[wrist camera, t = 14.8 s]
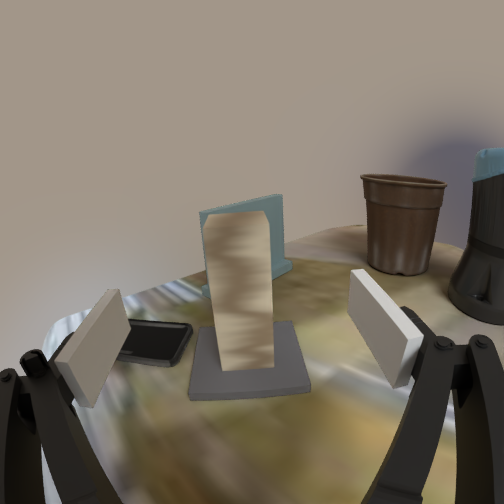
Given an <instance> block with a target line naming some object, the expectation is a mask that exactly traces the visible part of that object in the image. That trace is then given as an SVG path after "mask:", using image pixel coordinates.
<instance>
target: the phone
mask: <svg viewBox="0 0 504 504" xmlns="http://www.w3.org/2000/svg"><path fill="white" fill-rule="evenodd" d="M128 321H129V324H130V327H131V330H130V332H129V334H128V336H127V338H126V340H125V342H124V344H123V346H122V348H121V350H120V352H119V354H118V356H117V358H116V360H120V361H126V362H132V363H139V364H145V365H152V366H160V367H173V366H175V365H176V364H178V362H179V361H180V359H181V357H182V355H183V353H184V351H185V348H186V346H187V344H188V342H189V340H190V338H191V336H192V334H193V329H192V325H190V324H188V323H175V322H161V321H148V320H136V319H128ZM185 344H186V345H185ZM184 346H185V347H184ZM180 356H181V357H180Z"/></svg>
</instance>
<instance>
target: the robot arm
mask: <svg viewBox="0 0 504 504" xmlns="http://www.w3.org/2000/svg"><path fill="white" fill-rule="evenodd" d="M472 182H473V196H472V209H471V219H470V227H469V234H468V241H467V246H466V248H465V250H464V253H463V255H462V257H461V259H460V261H459V263H458V265H457V266H456V268H455V270H454V272H453V274H452V276H451V279H450V284H449V288H448V295H449V297H450V299H451V301H452V302H453V303H454V304H455V305H456V306H457V307H458V308H459V309H460V310H462V311H463V312H465V313H466V314H468V315H470V316H472V317H474V318H476V319H479V320H481V321H484V322H488V323H492V324H499V325H504V148H488V149H482V150H480V151H479V152H478V153H477V154H476V156H475V161H474V176H473V179H472ZM347 312H348V314H349V316H350V317H351V319H352V321H353V322H354V324H355V325H356V327H357V329H358V330H359V332H360V334H361V335H362V337H363V339H364V340H365V342H366V344H367V345H368V347H369V349H370V350H371V352H372V354H373V355H374V357H375V359H376V360H377V362H378V364H379V366H380V367H381V369H382V371H383V372H384V374H385V376H386V378H387V379H388V381H389V383H390V385H391V386H392V388H393V389H395V388H399V387H402V386H406V385H408V383H409V380H410V377H411V375H412V377H413V378H414V380H415V383H414V385H413V388H412V390H411V393H410V395H409V400H408V403H407V406H406V409H405V411H404V414H403V417H402V419H401V422H400V424H399V427H398V429H397V432H396V434H395V436H394V439H393V441H392V443H391V446H390V448H389V450H388V452H387V454H386V457H385V459H384V461H383V463H382V465H381V467H380V469H379V471H378V473H377V475H376V477H375V479H374V481H373V482H372V484H371V486H370V488H369V490H368V492H367V493H366V495H365V497H364V499H363V500H362V502H361V504H422V500H423V497H422V496H421V493H422V490H423V487H424V485H425V482H426V479H427V477H428V474H429V471H430V468H431V465H432V462H433V459H434V456H435V452H436V449H437V446H438V442H439V438H440V435H441V431H442V427H443V423H444V419H445V414H446V410H447V405H448V400H449V394H450V390H452V395H453V404H454V414H455V427H456V450H457V474H456V495H455V504H504V370H503V367H502V364H501V362H500V359H499V356H498V353H497V351H496V348H495V345H494V343H493V341H492V340H491V339H490V338H488V337H487V336H485V335H479V334H478V335H474V336H472V337H471V338H470V340H469V343H468V345H455V343H454V342H453V341H452V340H451V339H449V338H447V337H444V336H436V335H435V334H434V333H433V332H432V331H431V330H430V328H429V327H428V326H427V325H426V324H425V323H424V322H423V321H422V320H421V319H420V318H418V315H417V314H416V313H415V312H414V311H413V310H411V309H409V308H407V307H405V306H403V307H398V306H397V305H396V303H395V302H394V301H393V300H392V299H391V298H390V297H389V296H388V295H387V294H386V293H385V291H384V290H383V289H382V288H381V287H380V286H379V285H378V284H377V283H376V282H375V281H374V280H373V279H372V278H371V277H370V276H369V274H368V273H367V272H366V271H365V270H364V269H358V270H351V276H350V289H349V301H348V311H347ZM130 330H131V327H130V324H129V321H128V318H127V315H126V311H125V308H124V305H123V301H122V298H121V295H120V290H119V289H108V290H107V291H106V292H105V294H104V295H103V296H102V298H101V299H100V300H99V301H98V303H97V304H96V305H95V306H94V308H93V309H92V310H91V311H90V313H89V314H88V315H87V317H86V318H85V319H84V320H83V322H82V323H81V324H80V326H79V327H78V328H77V330H76V331H75V332H72V333H71V334H69V335H68V336H67V337H66V338H65V339H64V340H63V342H62V343H61V345H60V346H59V347H58V348H57V349H58V350H56V351H55V352H54V354H53V355H52V357H51V358H50V359H49V361H48V362H47V360H46V358H45V356H44V354H43V352H42V351H41V350H39V349H34V350H30V351H28V352H26V353H25V354H24V355H23V356H22V357H21V359H20V364H21V366H22V368H23V370H24V372H25V373H26V375H27V376H18V374H17V373H16V371H15V369H12V368H8V369H5V370H3V371H1V372H0V504H46V503H45V495H44V486H43V474H42V456H41V444H42V448H43V451H44V454H45V458H46V461H47V464H48V467H49V470H50V473H51V476H52V478H53V481H54V484H55V487H56V489H57V492H58V494H59V497H60V499H61V502H62V504H123V503H122V501H121V500H120V498H119V496H118V495H117V493H116V491H115V490H114V488H113V486H112V485H111V483H110V481H109V480H108V478H107V476H106V474H105V472H104V471H103V469H102V467H101V465H100V463H99V461H98V459H97V457H96V455H95V453H94V451H93V449H92V447H91V445H90V443H89V441H88V439H87V436H86V434H85V432H84V430H83V427H82V425H81V423H80V420H79V418H78V415H77V413H76V410H75V408H74V406H73V405H72V401H73V399H74V398H75V399H76V401H77V403H78V404H79V406H82V407H88V408H93V407H94V405H95V402H96V400H97V398H98V396H99V394H100V391H101V389H102V387H103V385H104V383H105V381H106V378H107V376H108V374H109V372H110V370H111V368H112V366H113V364H114V362H115V360H116V358H117V356H118V354H119V352H120V350H121V348H122V346H123V344H124V342H125V340H126V338H127V336H128V334H129V332H130Z"/></svg>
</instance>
